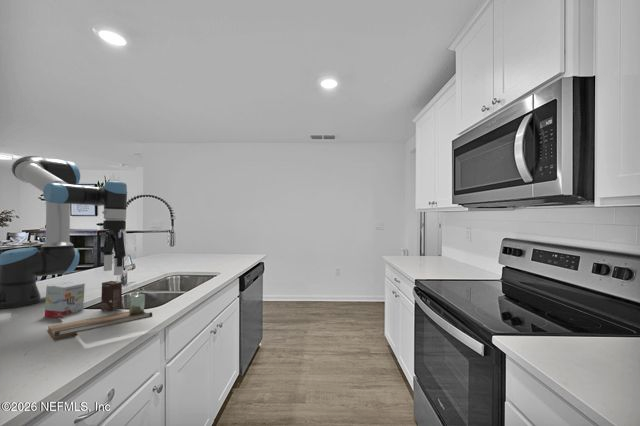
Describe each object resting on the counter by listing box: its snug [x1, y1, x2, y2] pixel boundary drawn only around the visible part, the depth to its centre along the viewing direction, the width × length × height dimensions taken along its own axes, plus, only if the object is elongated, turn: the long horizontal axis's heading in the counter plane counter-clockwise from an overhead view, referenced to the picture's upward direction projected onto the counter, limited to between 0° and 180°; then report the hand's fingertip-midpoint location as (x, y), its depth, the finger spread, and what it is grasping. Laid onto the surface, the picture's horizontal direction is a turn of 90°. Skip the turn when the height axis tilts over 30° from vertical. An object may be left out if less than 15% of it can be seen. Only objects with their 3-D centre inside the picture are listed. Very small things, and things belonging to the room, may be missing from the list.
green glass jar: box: [128, 293, 146, 316], centre depth 118 cm, size 5×5×7 cm
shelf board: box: [47, 311, 153, 341], centre depth 108 cm, size 12×28×2 cm, turn 139°
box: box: [100, 280, 123, 312], centre depth 122 cm, size 6×4×12 cm
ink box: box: [44, 281, 86, 319], centre depth 118 cm, size 9×9×12 cm
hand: (112, 272), depth 122 cm, fingers open, 13 cm apart
